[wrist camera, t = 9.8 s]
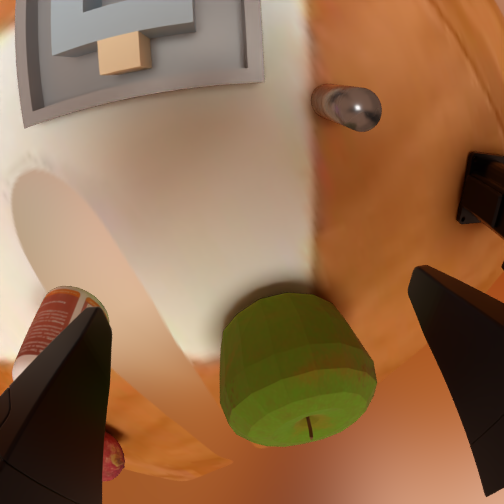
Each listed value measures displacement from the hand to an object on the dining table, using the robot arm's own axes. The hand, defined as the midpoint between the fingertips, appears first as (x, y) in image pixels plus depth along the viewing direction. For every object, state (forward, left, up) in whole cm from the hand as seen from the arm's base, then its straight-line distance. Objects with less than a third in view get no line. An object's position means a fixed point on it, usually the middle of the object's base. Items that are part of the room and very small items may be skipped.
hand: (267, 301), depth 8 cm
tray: (+5, -12, -12) cm, 18 cm away
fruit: (+22, +33, -12) cm, 41 cm away
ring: (+5, -12, -11) cm, 17 cm away
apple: (-3, +14, -12) cm, 19 cm away
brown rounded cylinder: (-6, -4, -12) cm, 14 cm away
